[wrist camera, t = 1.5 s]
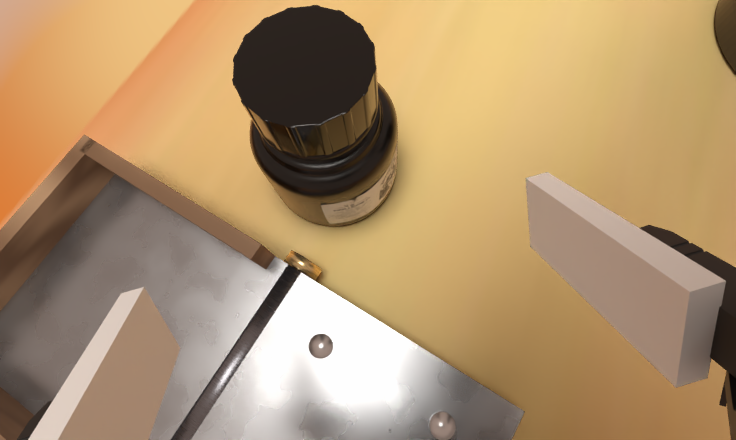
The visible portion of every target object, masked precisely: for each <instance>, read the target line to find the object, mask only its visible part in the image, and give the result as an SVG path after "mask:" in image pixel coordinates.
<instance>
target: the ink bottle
mask: <svg viewBox="0 0 736 440" xmlns="http://www.w3.org/2000/svg"><path fill="white" fill-rule="evenodd" d="M233 62H234V71H233V79H232V81H233V85H234V86H235V88H236V90H237V92H238V94H239V96H240V98H241V102H242V104H243V105H244V107H245V109H246V110H247V112H248V114H249V115H250V117H251V119H252V120H251V125H250V144H251V149H252V153H253V155H254V158H255V160H256V162H257V164H258V166H259V167H260V169H261V170H262V172H263V173H264V175H265V176H266V177H267V179H268V180H269V182H270V183H271V185H272V186H273V187H274V189H275V190H276V192H277V193H278V194H279V196H280V197H281V199H282V200H283V201H284V203H285V204H286V205H287V206H288V207H289V208H290V209H291V210H292V211H293V212H294V213H296V214H297V215H299V216H300V217H302V218H304V219H306V220H308V221H311V222H314V223H317V224H321V225H328V226H342V225H348V224H352V223H355V222H358V221H360V220H362V219H364V218H366V217H368V216H369V215H370V214H372V213H373V212H374V211H375V210H377V209H378V208H379V207H380V205H381V204H382V203H383V202H384V201H385V199H386V198H387V196H388V195H389V193H390V191H391V189H392V186H393V184H394V180H395V176H396V170H397V138H398V126H397V116H396V111H395V108H394V105H393V103H392V100H391V98H390V97H389V95H388V94H387V92H386V91H385V89H384V88H383V87H382V86H381V85H380V84H379V83H378V82H377V68H376V60H375V46H374V43H373V42H371V40H370V38H369V37H368V35H367V33H366V32H365V30H364V27H363V26H362V25H361V24H360V23H357V22H356V21H354V20H353V19H351V18H350V17H348V16H347V15H345V13H344V12H342V11H340V10H332V9H328V8H324V7H320V6H318V5H312V6H307V7H297V8H293V7H291V8H287V9H285V10H284V11H282V12H279V13H277V14H275V15H272V16H270V17H266V18H264V19H263V20H262V21H261V23H259V24H258V25H257V26H256V27H255V28H254V29H253V30H252V31H250V32H249V33H248V34H246V35H245V36H244V38H243V42H242V43H241V45H240V47H239V49H238V51H237V53H236V55H235V56H234V59H233Z"/></svg>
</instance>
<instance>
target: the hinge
mask: <svg viewBox="0 0 736 440" xmlns="http://www.w3.org/2000/svg"><path fill="white" fill-rule="evenodd" d="M284 261H285V262H286V263H285V262H284ZM284 261H282V260H280V259H279V258H277V257H276V256H275V257H274V259H273V260H272V262H271V263H270V265H269V266H268V268H267V269H264V268H263V267H261V266H259V265H258V264H256V263H255V262H253V261H252V260H250V259H248V258H247V257H245V256H244V255H242V254H241V253H239V252H237V251H236V250H234V249H233V248H231V247H229V246H228V245H226V244H225V243H223V242H222V241H220V240H218V239H217V238H215V237H214V236H212V235H211V234H209V233H207V232H206V231H204V230H203V229H201V228H200V227H198V226H196V225H195V224H193V223H192V222H190V221H188V220H187V219H185V218H184V217H182V216H181V215H179V214H177V213H176V212H174V211H173V210H171V209H170V208H168V207H166V206H165V205H163V204H162V203H160V202H158V201H157V200H155V199H154V198H152V197H151V196H149V195H147V194H146V193H144V192H143V191H141V190H140V189H138V188H136V187H135V186H133V185H132V184H130V183H129V182H127V181H125V180H124V179H122V178H121V177H119V176H117V175H116V174H114V176H113V177H112V178H111V179H110V180H109V182H108V183H107V184H106V185H105V186H104V188H103V189H102V190H101V191H100V192H99V194H98V195H97V196H96V197H95V198H94V200H93V201H92V202H91V203H90V204H89V206H88V207H87V208H86V209H85V210H84V212H83V213H82V214H81V215H80V216H79V218H78V219H77V220H76V221H75V222H74V224H73V225H72V226H71V227H70V228H69V230H68V231H67V232H66V233H65V234H64V236H63V237H62V238H61V239H60V240H59V242H58V243H57V244H56V245H55V246H54V248H53V249H52V250H51V251H50V252H49V254H48V255H47V256H46V257H45V258H44V260H43V261H42V262H41V263H40V264H39V266H38V267H37V268H36V269H35V270H34V272H33V273H32V274H31V275H30V276H29V278H28V279H27V280H26V281H25V282H24V284H23V285H22V286H21V287H20V288H19V290H18V291H17V292H16V293H15V294H14V296H13V297H12V298H11V299H10V300H9V302H8V303H7V304H6V305H5V306H4V308H3V309H2V310H1V311H0V387H1V388H2V389H4V390H5V391H6V392H7V393H8V394H9V395H11V396H12V397H13V398H14V399H15V400H17V401H18V402H19V403H20V404H21V405H23V406H24V407H25V408H26V409H27V410H29V411H30V412H31V413H32V414H33V415H35V414H36V413H37V412H38V411H39V410H40V409H41V408H42V407H43V406H44V405H45V404H46V403H47V402H49V401H52V400H54V398H55V397H56V395H57V393H58V392H59V390H60V389H61V387H62V386H63V384H64V382H65V381H66V379H67V378H68V376H69V375H70V373H71V371H72V370H73V368H74V367H75V365H76V364H77V362H78V360H79V359H80V357H81V356H82V354H83V353H84V351H85V349H86V348H87V346H88V345H89V343H90V342H91V340H92V338H93V337H94V335H95V334H96V332H97V331H98V329H99V327H100V326H101V324H102V323H103V321H104V320H105V318H106V316H107V315H108V313H109V312H110V310H111V308H112V307H113V305H114V304H115V302H116V301H117V299H118V297H119V296H120V294H121V293H124V292H128V291H131V290H135V289H138V288H142V287H145V289H146V291H147V293H148V294H149V296H150V298H151V299H152V301H153V303H154V304H155V306H156V308H157V309H158V311H159V313H160V315H161V316H162V318H163V320H164V321H165V323H166V325H167V326H168V328H169V330H170V331H171V333H172V335H173V337H174V338H175V340H176V342H177V343H178V345H179V347H180V351H179V354H178V357H177V359H176V362H175V365H174V368H173V371H172V374H171V377H170V379H169V382H168V385H167V388H166V391H165V394H164V397H163V399H162V402H161V405H160V408H159V411H158V414H157V417H156V419H155V422H154V425H153V428H152V431H151V434H150V437H149V440H512V438H513V436H514V433H515V431H516V429H517V427H518V425H519V423H520V421H521V419H522V416H523V414H524V412H525V411H523V410H521V409H520V408H518V407H517V406H515V405H513V404H512V403H510V402H509V401H507V400H505V399H504V398H502V397H501V396H499V395H497V394H496V393H494V392H493V391H491V390H489V389H488V388H486V387H484V386H483V385H481V384H480V383H478V382H476V381H475V380H473V379H472V378H470V377H468V376H467V375H465V374H464V373H462V372H460V371H459V370H457V369H456V368H454V367H452V366H451V365H449V364H448V363H446V362H444V361H443V360H441V359H439V358H438V357H436V356H435V355H433V354H431V353H430V352H428V351H427V350H425V349H423V348H422V347H420V346H419V345H417V344H415V343H414V342H412V341H411V340H409V339H407V338H406V337H404V336H403V335H401V334H399V333H398V332H396V331H395V330H393V329H391V328H390V327H388V326H386V325H385V324H383V323H382V322H380V321H378V320H377V319H375V318H374V317H372V316H370V315H369V314H367V313H366V312H364V311H362V310H361V309H359V308H358V307H356V306H354V305H353V304H351V303H350V302H348V301H346V300H345V299H343V298H341V297H340V296H338V295H337V294H335V293H333V292H332V291H330V290H329V289H327V288H325V287H324V286H322V285H321V284H319V283H317V282H316V281H315V280H316V279H317V277H318V276H319V274H320V273H321V271H322V270H321V269H320V268H319V267H318V266H316V265H315V264H314V263H312V262H311V261H309V260H308V259H306V258H305V257H303V256H301V255H300V254H298V253H296V252H294V251H292V250H291V252H290V253H289V254H288V256H287V257H286V259H285V260H284ZM288 264H289V265H288Z"/></svg>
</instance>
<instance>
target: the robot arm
mask: <svg viewBox="0 0 736 440" xmlns="http://www.w3.org/2000/svg"><path fill="white" fill-rule="evenodd" d="M715 29H716V35H717V39H718V42H719V45H720V48H721V50H722V52H723V54H724V56H725V58H726V59H727V61H728V63H729V64H730V65H731V67H732V68H733V69H734V71H735V72H736V0H719V3H718V6H717V10H716V15H715ZM526 189H527V204H528V219H529V234H530V247H531V248H532V249H533V250H534V251H535V252H536V253H538V254H539V255H540V256H541V257H542V258H543V259H544V260H545V261H546V262H547V263H548V264H549V265H550V266H551V267H552V268H553V269H554V270H555V271H556V272H557V273H558V274H559V275H560V276H561V277H562V278H563V279H564V280H565V281H566V282H567V283H568V284H569V285H571V286H572V287H573V288H574V289H575V290H576V291H577V292H578V293H579V294H580V295H581V296H582V297H583V298H584V299H585V300H586V301H587V302H588V303H589V304H590V305H591V306H592V307H593V308H594V309H595V310H596V311H597V312H598V313H599V314H600V315H601V316H602V317H604V318H605V319H606V320H607V321H608V322H609V323H610V324H611V325H612V326H613V327H614V328H615V329H616V330H617V331H618V332H619V333H620V334H621V335H622V336H623V337H624V338H625V339H626V340H627V341H628V342H629V343H630V344H631V345H632V346H633V347H634V348H635V349H637V350H638V351H639V352H640V353H641V354H642V355H643V356H644V357H645V358H646V359H647V360H648V361H649V362H650V363H651V364H652V365H653V366H654V367H655V368H656V369H657V370H658V371H659V372H660V373H661V374H662V375H663V376H664V377H665V378H666V379H667V380H668V381H670V382H671V383H672V384H673V385H674V386H675V387H676V388H677V387H680V386H683V385H686V384H690V383H693V382H696V381H699V380H703V379H706V378H708V373H709V368H710V362H711V358H712V359H713V360H714V361H715V362H717V363H718V364H719V365H720V366H722V367H723V368H724V369H725V370H726V371H727V372H726V377H725V381H724V386H723V390H722V395H721V400H720V404H719V405H721V406H725V407H726V404H727V409H728V417H729V426H730V435H731V440H736V268H735V267H733V266H732V265H730V264H728V263H726V262H725V261H723V260H721V259H719V258H717V257H716V256H714V255H712V254H710V253H709V252H707V251H705V252H704V251H703V249H702V248H700V247H698V246H696V245H694V244H693V243H689V241H687V240H686V239H684V238H682V237H680V236H679V235H677V234H675V233H673V232H672V231H668V230H665V229H661V228H658V227H655V226H651V225H648V226H644V227H641V228H638V227H637V226H635V225H633V224H632V223H630V222H628V221H627V220H625V219H623V218H622V217H620V216H619V215H617V214H615V213H614V212H612V211H610V210H609V209H607V208H605V207H604V206H602V205H600V204H599V203H597V202H596V201H594V200H592V199H591V198H589V197H587V196H586V195H584V194H582V193H581V192H579V191H577V190H576V189H574V188H573V187H571V186H569V185H568V184H566V183H564V182H563V181H561V180H559V179H558V178H556V177H554V176H553V175H551V174H550V173H548V172H546V173H542V174H539V175H535V176H532V177H528V178H526ZM179 351H180V347H179V345H178V343H177V342H176V340H175V338H174V337H173V335H172V333H171V331H170V330H169V328H168V326H167V325H166V323H165V321H164V320H163V318H162V316H161V315H160V313H159V311H158V309H157V308H156V306H155V304H154V303H153V301H152V299H151V298H150V296H149V294H148V293H147V291H146V289H145V287H142V288H138V289H135V290H131V291H128V292H124V293H121V294H120V296H119V297H118V299H117V301H116V302H115V304H114V305H113V307H112V308H111V310H110V312H109V313H108V315H107V316H106V318H105V320H104V321H103V323H102V324H101V326H100V327H99V329H98V331H97V332H96V334H95V335H94V337H93V338H92V340H91V342H90V343H89V345H88V346H87V348H86V349H85V351H84V353H83V354H82V356H81V357H80V359H79V360H78V362H77V364H76V365H75V367H74V368H73V370H72V371H71V373H70V375H69V376H68V378H67V379H66V381H65V382H64V384H63V386H62V387H61V389H60V390H59V392H58V393H57V395H56V397H55V398H54V400H52V401H49V402H47V403H46V404H45V405H44V406H43V407H42V408H41V409H40V410H39V411H38V412H37V413H36V414H35V415H34V416H33V417H32V418H31V419H30V420H29V422H28V423H27V425H26V426H25V428H24V429H23V431H22V432H21V434H20V435H19V437H18V438H17V440H149V437H150V434H151V431H152V428H153V425H154V422H155V419H156V417H157V414H158V411H159V408H160V405H161V402H162V399H163V397H164V394H165V391H166V388H167V385H168V382H169V379H170V377H171V374H172V371H173V368H174V365H175V362H176V359H177V357H178V354H179Z"/></svg>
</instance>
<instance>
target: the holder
mask: <svg viewBox="0 0 736 440" xmlns="http://www.w3.org/2000/svg"><path fill="white" fill-rule="evenodd" d="M114 174H116V175H117V176H119V177H121V178H122V179H124V180H125V181H127V182H129V183H130V184H132V185H133V186H135V187H136V188H138V189H140V190H141V191H143V192H144V193H146V194H147V195H149V196H151V197H152V198H154V199H155V200H157V201H158V202H160V203H162V204H163V205H165V206H166V207H168V208H170V209H171V210H173V211H174V212H176V213H177V214H179V215H181V216H182V217H184V218H185V219H187V220H188V221H190V222H192V223H193V224H195V225H196V226H198V227H200V228H201V229H203V230H204V231H206V232H207V233H209V234H211V235H212V236H214V237H215V238H217V239H218V240H220V241H222V242H223V243H225V244H226V245H228V246H229V247H231V248H233V249H234V250H236V251H237V252H239V253H241V254H242V255H244V256H245V257H247V258H248V259H250V260H252V261H253V262H255V263H256V264H258V265H259V266H261V267H263V268H264V269H267V268H268V266H269V265H270V263H271V262H272V260H273V259H274V257H275V256H274V255H273V254H272V253H271V252H270V251H268V250H267V249H266V248H265V247H264V246H263V245H261V244H260V243H258V242H257V241H255V240H253V239H252V238H250V237H249V236H247V235H245V234H244V233H242V232H241V231H239V230H237V229H236V228H234V227H232V226H231V225H229V224H228V223H226V222H224V221H223V220H221V219H220V218H218V217H216V216H215V215H213V214H211V213H210V212H208V211H207V210H205V209H203V208H202V207H200V206H199V205H197V204H195V203H194V202H192V201H191V200H189V199H187V198H186V197H184V196H182V195H181V194H179V193H178V192H176V191H174V190H173V189H171V188H170V187H168V186H166V185H165V184H163V183H162V182H160V181H158V180H157V179H155V178H153V177H152V176H150V175H149V174H147V173H145V172H144V171H142V170H141V169H139V168H137V167H136V166H134V165H133V164H131V163H129V162H128V161H126V160H124V159H123V158H121V157H120V156H118V155H116V154H115V153H113V152H112V151H110V150H108V149H107V148H105V147H104V146H102V145H100V144H99V143H97V142H95V141H94V140H92V139H91V138H89V137H87V136H86V135H83V137H82V138H81V139H80V140H79V141H78V142H77V143H76V145H75V146H74V147H73V148H72V149H71V150H70V151H69V153H68V154H67V155H66V156H65V157H64V158H63V159H62V161H61V162H60V163H59V164H58V165H57V166H56V167H55V168H54V170H53V171H52V172H51V173H50V174H49V175H48V176H47V178H46V179H45V180H44V181H43V182H42V183H41V184H40V186H39V187H38V188H37V189H36V190H35V191H34V192H33V193H32V195H31V196H30V197H29V198H28V199H27V200H26V201H25V203H24V204H23V205H22V206H21V207H20V208H19V209H18V211H17V212H16V213H15V214H14V215H13V216H12V217H11V218H10V220H9V221H8V222H7V223H6V224H5V225H4V226H3V228H2V229H1V230H0V311H1V310H2V309H3V308H4V306H5V305H6V304H7V303H8V302H9V300H10V299H11V298H12V297H13V296H14V294H15V293H16V292H17V291H18V290H19V288H20V287H21V286H22V285H23V284H24V282H25V281H26V280H27V279H28V278H29V276H30V275H31V274H32V273H33V272H34V270H35V269H36V268H37V267H38V266H39V264H40V263H41V262H42V261H43V260H44V258H45V257H46V256H47V255H48V254H49V252H50V251H51V250H52V249H53V248H54V246H55V245H56V244H57V243H58V242H59V240H60V239H61V238H62V237H63V236H64V234H65V233H66V232H67V231H68V230H69V228H70V227H71V226H72V225H73V224H74V222H75V221H76V220H77V219H78V218H79V216H80V215H81V214H82V213H83V212H84V210H85V209H86V208H87V207H88V206H89V204H90V203H91V202H92V201H93V200H94V198H95V197H96V196H97V195H98V194H99V192H100V191H101V190H102V189H103V188H104V186H105V185H106V184H107V183H108V182H109V180H110V179H111V178H112V177H113V176H114ZM33 416H34V415H33V414H32V413H31V412H30V411H29V410H27V409H26V408H25V407H24V406H23V405H21V404H20V403H19V402H18V401H17V400H15V399H14V398H13V397H12V396H11V395H9V394H8V393H7V392H6V391H5V390H4V389H2V388H1V387H0V440H17V438H18V437H19V435H20V434H21V432H22V431H23V429H24V428H25V426H26V425H27V423H28V422H29V420H30V419H31V418H32V417H33Z"/></svg>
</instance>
